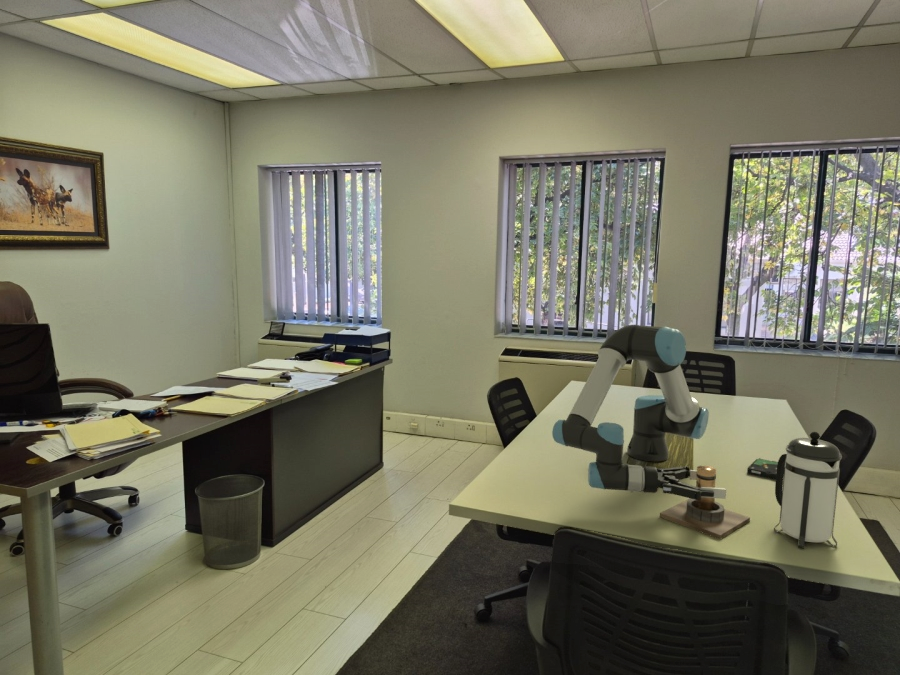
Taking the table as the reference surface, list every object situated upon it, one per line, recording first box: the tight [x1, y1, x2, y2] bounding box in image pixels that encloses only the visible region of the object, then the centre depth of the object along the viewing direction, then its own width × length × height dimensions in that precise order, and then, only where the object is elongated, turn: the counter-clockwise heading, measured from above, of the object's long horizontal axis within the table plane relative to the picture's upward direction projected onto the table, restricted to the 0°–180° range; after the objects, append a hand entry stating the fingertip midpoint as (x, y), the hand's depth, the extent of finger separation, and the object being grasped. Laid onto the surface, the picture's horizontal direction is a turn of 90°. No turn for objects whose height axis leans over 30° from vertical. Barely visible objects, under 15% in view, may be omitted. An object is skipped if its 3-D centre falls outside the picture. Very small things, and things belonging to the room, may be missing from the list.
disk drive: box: [746, 457, 785, 481], centre depth 215 cm, size 10×3×15 cm
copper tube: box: [695, 465, 717, 511], centre depth 173 cm, size 5×5×14 cm
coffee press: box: [773, 431, 843, 550], centre depth 162 cm, size 17×16×30 cm
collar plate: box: [659, 498, 751, 540], centre depth 174 cm, size 18×18×4 cm
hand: (719, 484), depth 172 cm, fingers open, 13 cm apart
